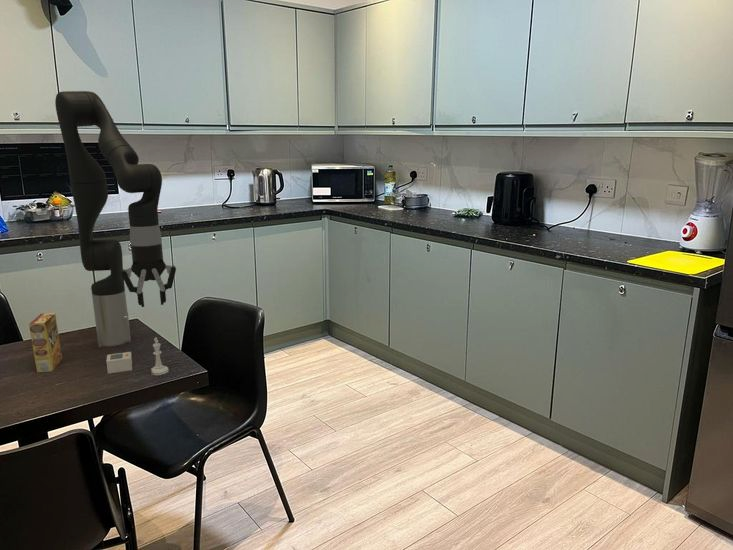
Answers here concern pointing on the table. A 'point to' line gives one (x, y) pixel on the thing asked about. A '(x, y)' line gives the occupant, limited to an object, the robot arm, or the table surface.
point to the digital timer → (119, 362)
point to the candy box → (45, 342)
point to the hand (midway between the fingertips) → (152, 304)
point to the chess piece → (158, 361)
